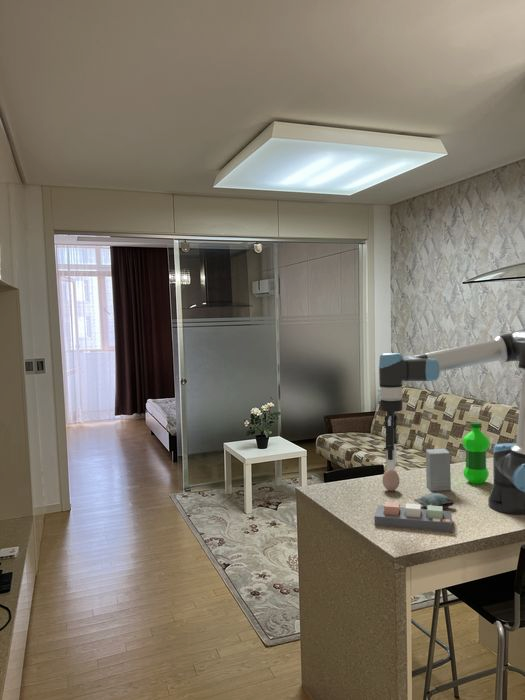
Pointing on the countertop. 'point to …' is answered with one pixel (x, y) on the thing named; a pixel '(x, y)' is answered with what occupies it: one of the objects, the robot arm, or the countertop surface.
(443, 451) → the skincare box
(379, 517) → the keypad board
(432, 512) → the sage key
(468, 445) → the plastic bottle
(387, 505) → the terracotta key
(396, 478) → the egg
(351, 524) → the countertop surface
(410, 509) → the cream key
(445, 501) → the packaged food
